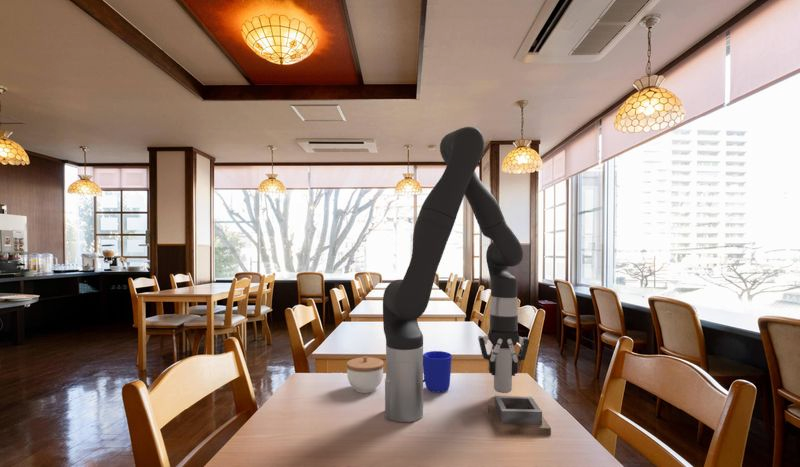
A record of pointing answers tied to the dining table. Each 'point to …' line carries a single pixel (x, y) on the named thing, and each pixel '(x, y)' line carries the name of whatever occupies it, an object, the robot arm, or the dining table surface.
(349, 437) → the dining table surface
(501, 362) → the beverage can
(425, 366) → the mug
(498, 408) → the can holder
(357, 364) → the lidded jar
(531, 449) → the dining table surface
